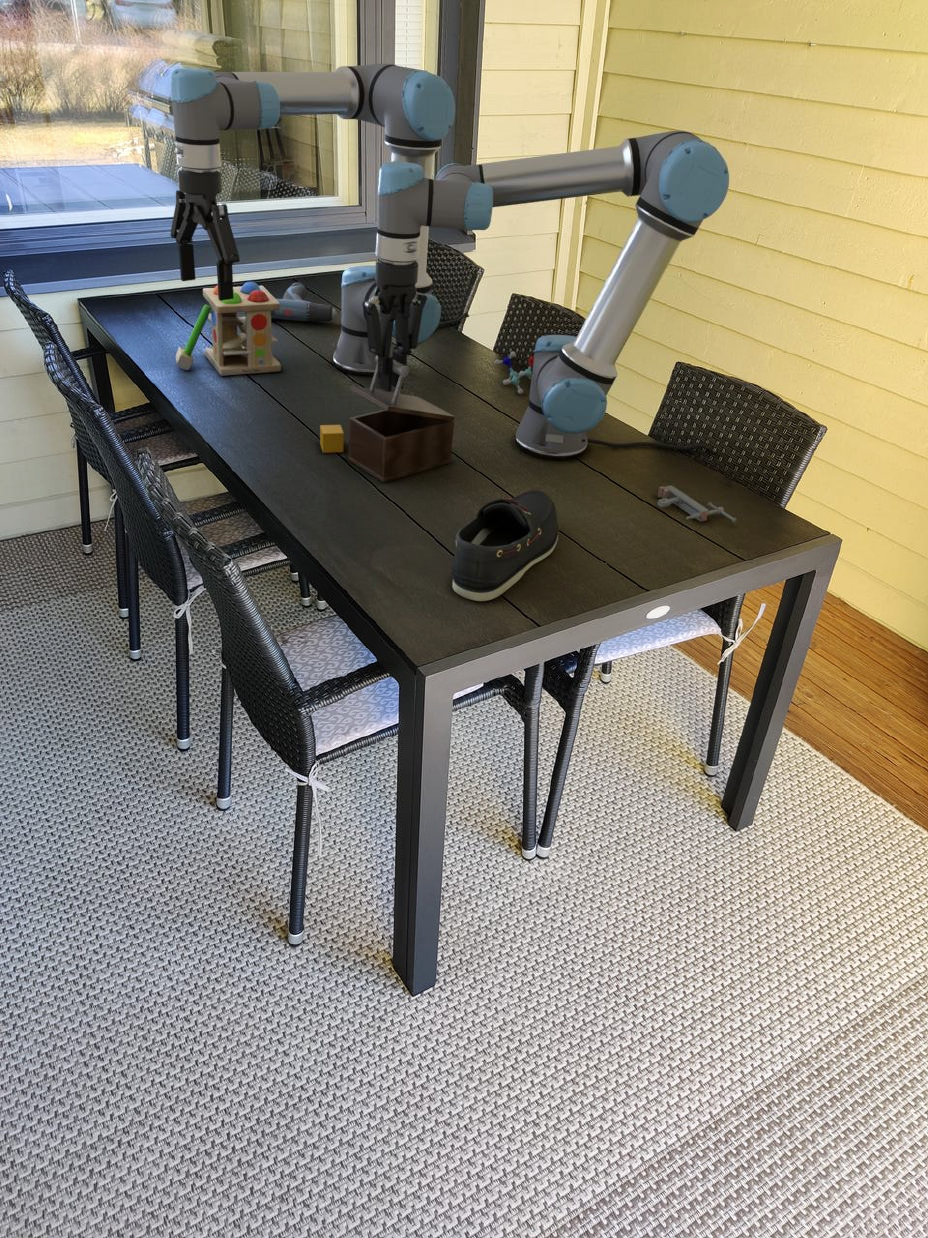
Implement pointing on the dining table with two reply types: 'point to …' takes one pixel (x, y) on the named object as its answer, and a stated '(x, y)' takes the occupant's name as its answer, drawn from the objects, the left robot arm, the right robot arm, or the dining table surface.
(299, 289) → the power drill
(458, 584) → the boat shoe
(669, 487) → the clamp
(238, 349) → the pounding bench toy
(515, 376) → the molecular model
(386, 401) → the lid
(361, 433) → the chest
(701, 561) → the dining table surface
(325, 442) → the block
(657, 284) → the right robot arm
